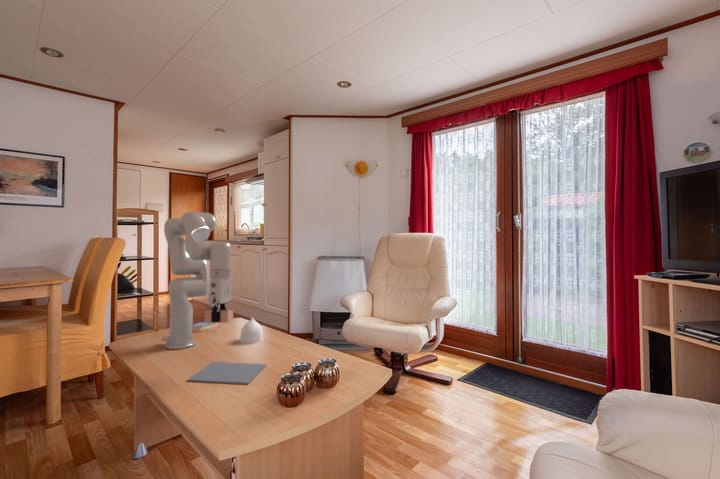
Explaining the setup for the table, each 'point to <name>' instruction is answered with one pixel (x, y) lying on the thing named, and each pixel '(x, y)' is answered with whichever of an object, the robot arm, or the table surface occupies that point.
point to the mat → (228, 373)
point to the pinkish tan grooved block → (224, 316)
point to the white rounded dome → (251, 332)
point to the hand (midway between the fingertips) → (219, 319)
